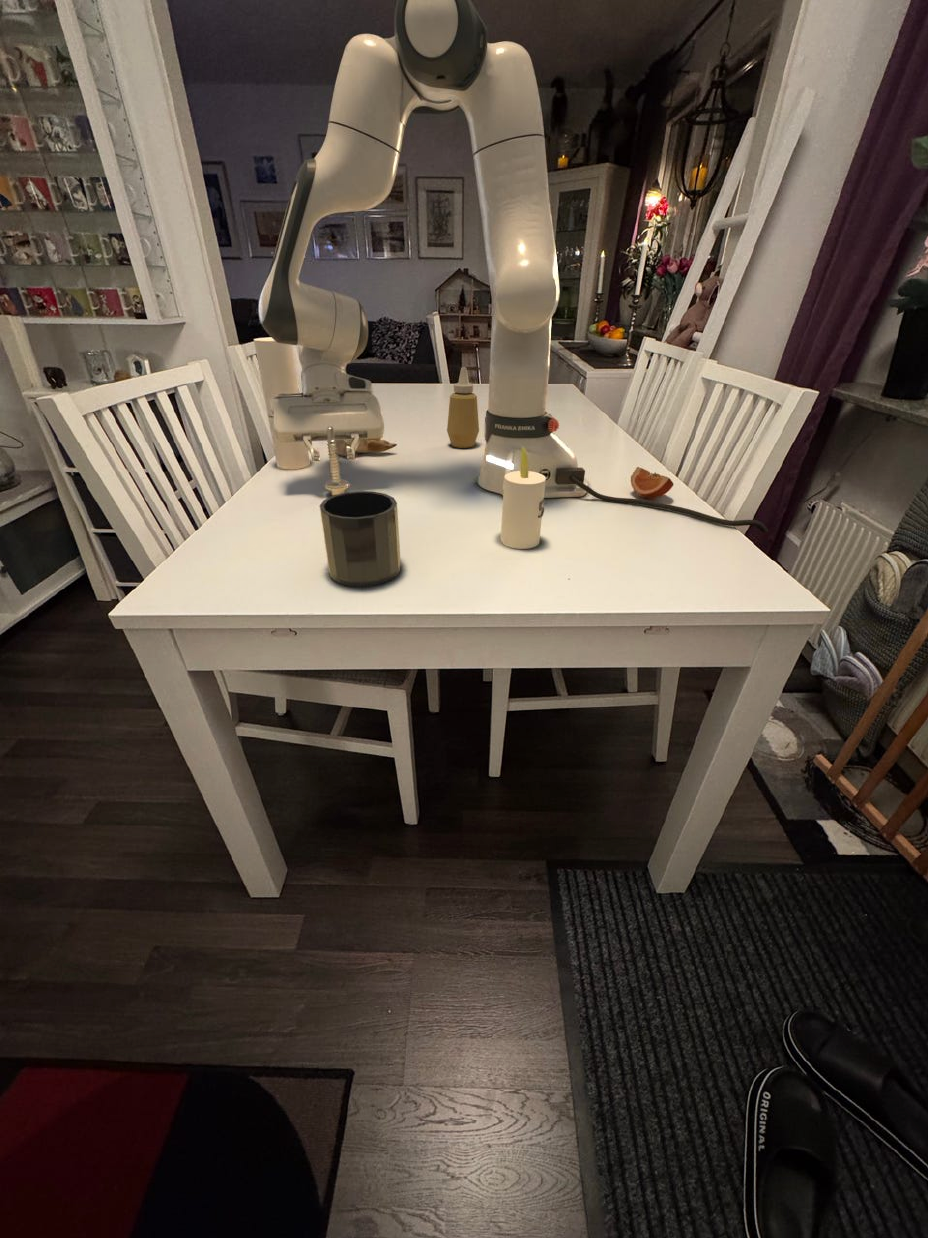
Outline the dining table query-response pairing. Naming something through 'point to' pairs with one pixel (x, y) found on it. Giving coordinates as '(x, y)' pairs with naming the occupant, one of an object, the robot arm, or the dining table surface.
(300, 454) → the cylindrical container
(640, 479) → the fruit slice
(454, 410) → the squeeze bottle
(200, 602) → the dining table surface
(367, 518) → the holder
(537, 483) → the candle
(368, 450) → the ceramic sculpture
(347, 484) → the screw
